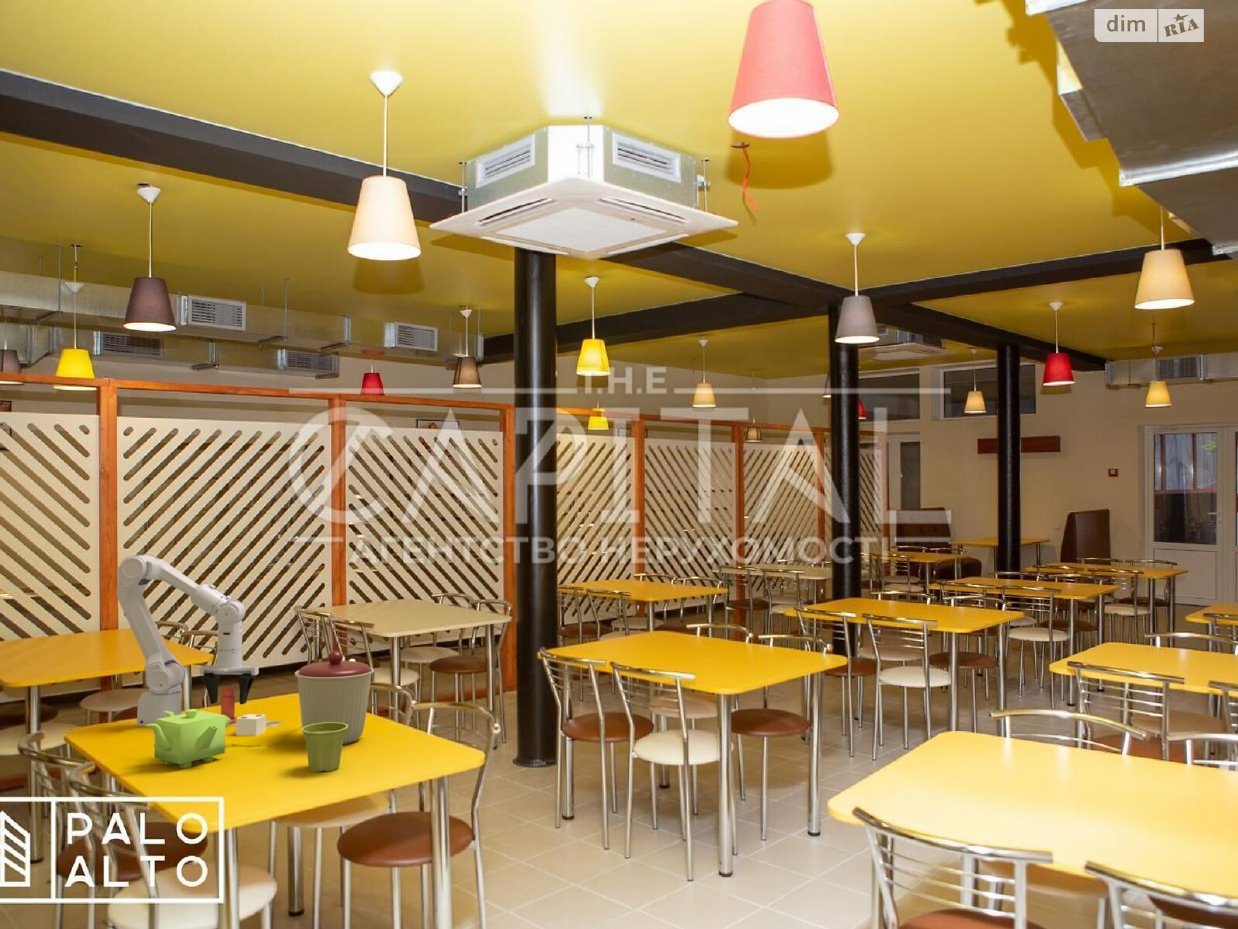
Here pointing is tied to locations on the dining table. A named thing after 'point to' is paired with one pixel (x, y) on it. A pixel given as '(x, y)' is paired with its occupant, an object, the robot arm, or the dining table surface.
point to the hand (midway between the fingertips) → (228, 703)
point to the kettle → (189, 737)
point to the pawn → (228, 703)
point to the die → (250, 725)
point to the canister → (335, 693)
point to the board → (269, 723)
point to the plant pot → (324, 745)
